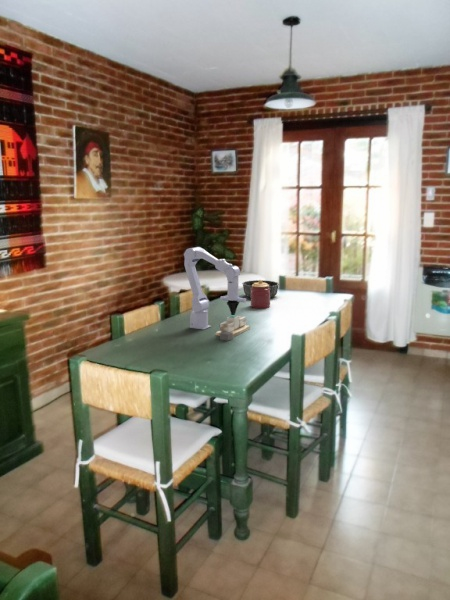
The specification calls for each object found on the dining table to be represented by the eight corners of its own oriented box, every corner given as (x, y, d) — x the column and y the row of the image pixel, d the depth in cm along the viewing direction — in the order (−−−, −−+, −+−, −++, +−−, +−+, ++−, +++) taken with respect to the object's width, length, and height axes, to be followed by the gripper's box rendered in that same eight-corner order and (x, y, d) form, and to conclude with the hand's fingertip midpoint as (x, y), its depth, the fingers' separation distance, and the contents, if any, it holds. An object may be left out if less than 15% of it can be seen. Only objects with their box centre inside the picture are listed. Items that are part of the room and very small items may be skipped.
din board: (215, 335, 256) (215, 323, 254) (234, 326, 273) (233, 315, 271) (232, 337, 251) (232, 325, 250) (250, 328, 268) (250, 317, 267)
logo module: (227, 328, 260) (227, 316, 259) (231, 326, 264) (231, 314, 263) (234, 329, 258) (234, 317, 257) (239, 327, 262) (238, 315, 261)
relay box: (219, 339, 248) (219, 333, 247) (224, 337, 251) (224, 331, 251) (228, 341, 245) (228, 334, 245) (232, 339, 248) (232, 332, 248)
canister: (270, 308, 316) (271, 281, 312) (250, 308, 316) (250, 281, 312) (269, 304, 328) (269, 278, 325) (250, 304, 329) (250, 278, 325)
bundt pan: (285, 295, 359) (285, 281, 357) (268, 301, 337) (268, 287, 335) (253, 292, 372) (253, 279, 370) (235, 298, 351) (235, 284, 349)
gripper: (217, 289, 257) (217, 314, 260) (241, 291, 250) (241, 317, 253) (223, 287, 263) (224, 312, 266) (248, 289, 256) (248, 314, 259)
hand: (233, 314), depth 260 cm, fingers closed
